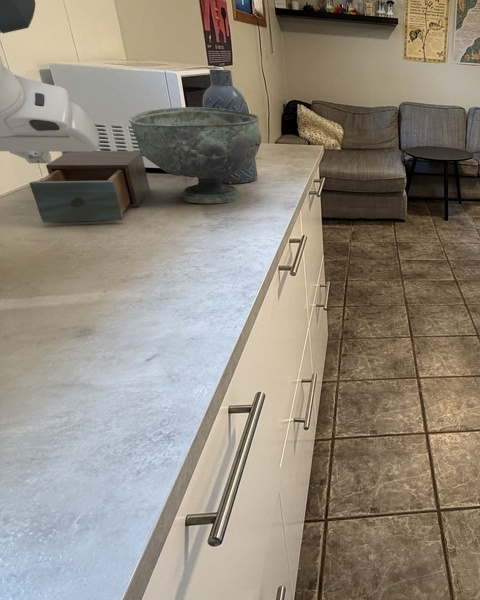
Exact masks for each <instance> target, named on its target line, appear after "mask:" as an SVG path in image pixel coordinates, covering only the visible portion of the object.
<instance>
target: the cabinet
mask: <svg viewBox="0 0 480 600" xmlns="http://www.w3.org/2000/svg"><path fill="white" fill-rule="evenodd" d="M45 167H46V169H47V172H48V175H49V174H51V173H52V172H54V171H55V170H57V169H119V168H125V173H126V177H127V181H128V185H129V189H130V193H131V197H132V201H131V202H130V203H129V205H128V206H127V207H126V209H136V208H137V209H138V208H139V207H140V206H141V204H142V202H143V201H144V200H145V198H146V197H147V195H148V193H149V192H150V190H151V188H150V184H149V179H148V175H147V171H146V170H147V169H146V165H145V162H144V156H143V155H142V153H141V151H140V150H96V151H94V152H65V153H64V154H62V155H60V156H58V157H57V158H56V159H54V160H51V163H46V165H45Z"/></svg>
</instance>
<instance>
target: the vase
mask: <svg viewBox="0 0 480 600" xmlns="http://www.w3.org/2000/svg"><path fill="white" fill-rule="evenodd" d="M208 71H209V77H210V85H209V87H207V88H206V90H205V91H204V93H203V95H202V107H206V108H217V109H227V110H235V111H238V112H245V113H248V114H249V110H248V109H249V108H248V106H247V102H246V99H245V97H244V96H243V94H242V93H241V92H240V90H239V89H238V88H236V87H235V86H234V84H233V77H232V71H231V70H230V69H213V68H211V69H210V68H209V70H208ZM257 179H258V168H257V161H256V157H255V158H254V159H253V160H252V161H251V163H250V164H248V165H247V166H246V167H245V168H243V169H242V170H240V171H238V172H236V173H233V174H231V175H228V176H224V177H219V181H220V182H221V183H223V184H227V185H237V184H246V183H251V182H255V181H256V180H257Z"/></svg>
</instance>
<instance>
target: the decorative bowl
mask: <svg viewBox="0 0 480 600" xmlns="http://www.w3.org/2000/svg"><path fill="white" fill-rule="evenodd" d="M259 119H260V117H259V115H257V114H254V113H249V112H248V113H245V112H238V111H235V110H227V109H217V108H206V107H203V106H202V107H201V106H199V107H198V106H189V107H188V106H185V107H183V106H182V107H166V108H158V109H149V110H145V111H143V112H141V113H140V112H137V113H135V114H133V115H131V116H129V117H128V119H127V120H128V122H129V123H130V125H131V129H132V132H133V135H134V137H135V140H136V142H137V147H138V151H141V153H142V157H143V158H145V159H147V160H148V161H150V162H151V163H152V164H154V165H155V166H157V167H158V168H160V169H161V170H162V171H164V172H166V173H168V174H171V175H173V176H179V177H187V178H191V179H194V178H197V180H198V182H197V183H196V184H193V185H189V186H188V187H185V188H184V190H183V192H182V196H183V198H184V200H185V202H187V203H194V204H223V203H230V202H233V201H236V200H239V199H240V196H241V194H240V191H239V190H238V188H236V187H235V186H232V185H231V184H228V183H221V182H220V181H219V177H224V176H228V175H231V174H233V173H236V172H238V171H240V170H242V169H243V168H245V167H246V166H247V165H248V164H250V163H251V161H252V160H253V159H254V158H255V159H256V156H257V154H258V152H259V150H260V146H261V144H262V134H261V130H260V127H259Z"/></svg>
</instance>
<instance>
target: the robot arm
mask: <svg viewBox="0 0 480 600" xmlns="http://www.w3.org/2000/svg"><path fill="white" fill-rule="evenodd" d="M35 11H36V0H0V34H7V33H12V32H16V31H20V30H25V29H29V27H30V26H31V23H32V21H33V19H34V15H35ZM99 148H100V132H99V130H98V128H97V127H96V125H95V123H94V122H93V120H92V119H91V118H90V117H89V115H88V114H87V113H86V111H85V110H84V109H83V108H82V107H80V106H79V105H77V104H76V103H74V102H72V101H71V96H70V93H69V92H68V90H67V89H65V88H64V87H62V86H59V85H54V84H49V83H45V82H41V81H37V80H34V79H33V80H32V79H29V78H26V77H23V76H20V75H18V74H14V72H12V71H11V70H10V69H9V68H7V66H5V64H4V62H3V59H2V57H1V56H0V152H9V153H10V154H12V155H15V156H17V157H18V158H22V159H24V160H26V162H27V163H28V164H49V163H51V162H52V154H51V153H50V152H65V153H67V152H94V151H98V149H99Z"/></svg>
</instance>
